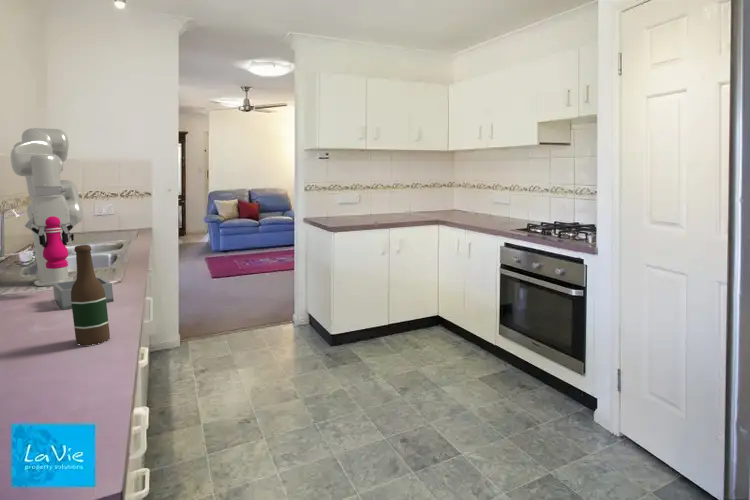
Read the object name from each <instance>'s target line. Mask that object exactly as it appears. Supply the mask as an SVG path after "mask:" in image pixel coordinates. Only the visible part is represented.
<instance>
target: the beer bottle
mask: <svg viewBox="0 0 750 500" xmlns="http://www.w3.org/2000/svg"><path fill="white" fill-rule="evenodd" d="M73 251H74V252H75V257H76V259H75V260H76V278H75V280H76V281H75V280H74V281H75V282H74V284H73V286H72V290H71V304H72V309H71V311H72V318H73V328H74V334H75V336H74V337H75V343H76V345H77V344H80V345H92V344H97V345H99V344H98V343H102V342H104V341H106V340H108V339H109V340H111V337H110V335H111V333H110V326H109V325H110V323H109V315H108V314H109V313H108V305H107V303H106V296H105V291H104V288H103V286H102V284H101V282H100V281H99V280H98V279H97V277H96V273H95V271H94V265H93V258H92V253H91V251H92V246H91V245H89V244H79V245H76V246H74V250H73ZM109 340H108V341H109ZM106 342H107V341H106ZM104 343H105V342H104ZM102 344H103V343H102ZM92 346H93V345H92Z"/></svg>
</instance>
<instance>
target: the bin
mask: <svg viewBox="0 0 750 500" xmlns="http://www.w3.org/2000/svg"><path fill="white" fill-rule="evenodd" d="M96 278H97V279H98V280H99V281H100V282H101V284H102V286H103V288H104V291H105V296H106V304H107V303H111V302H114V293H113V291H114V290H113V284H112V282H111V281H108V280H107V279H105V278H103V277H102V276H97V277H96ZM75 281H76V279H75V280H73V281H68V282H61V283H54V284H53V286H52V288H53V297H54V302H55V303H56V304H57V306H59V307H60V308H61V310H63V311H66V310H72V304H71V290H72V286H73V284H74V282H75Z"/></svg>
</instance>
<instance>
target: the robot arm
mask: <svg viewBox="0 0 750 500" xmlns="http://www.w3.org/2000/svg"><path fill="white" fill-rule="evenodd" d="M69 145H70V142H69V139H68V136H67V134H66V133H65V132H64V130H62V129H60V128H59V129H58V128H41V127H39V128H38V127H32V128H28V129H25V130H24V131H23V132H22V133H21V141H19V142H16V143H15V144H14V146H13V148H12V150H11V151H10V163H11V168H12V170H13V172H14V173H15V174H16V176H19V177H24V178H25V183H26V186H27V192H28V197H29V198H30V201H31V202H30V203H29V204H28V205H27V207H26V213H27V216H28V217H27V218H28V221H27V222H26V223H25V224H24V227H25V228H27V229H29V230H30V231H31V232H32V236H33V237H32V238H33V244H34V251H35V259H36V260H35V261H36V266H37V275H38V279H37V280H35V281H33V284H34V285H35V286H37V287H51V286H52V287H53V284H54V283H61V282H68V281H75V280H74V276H69V271H68V270H69V268H68V266H67V267H64V268H57V269H48V268H46V262H48V261H47V260H46V259H44V257H43V250H44V247H46V233H45V232H44V228H45V227H46V226H47V225H46V223H45V222H46V219H47V218H49V217H51V216H54V217H57V218H59V219H60V227H61V230H62V231H61V239H62V241H63V243H64V245H65V246H67V245H68V244H67V243H69V232H70V231H71V230H72V229H73V228H74V227H76V225H78V224H79V223H81V222H82V220H83V218H84V211H83V206H82V204H81V198H80V194H79V191H78V188H77V185H76V183H75V182H73V181H72V180H69V179H61V173H62V172H63V171H64V162H65V161H66V160H67V159H68V153H69ZM65 260H67V258H66V259H65Z"/></svg>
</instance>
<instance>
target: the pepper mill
mask: <svg viewBox="0 0 750 500" xmlns="http://www.w3.org/2000/svg"><path fill="white" fill-rule="evenodd" d="M45 223H46V225H47V226H46V227H45V228H44V232H45V233H46V247H44V250H43V257H44V259H46V260H47V261H48V262H46V268H48V269H57V268H64V267H67V268H68V266H69V263H68V259H67V258H68V257H69V250H68V248H67V245H64V243H63V241H62V239H61V234H62V231H63V230H62V228H61V226H60V219H59V218H57V217H54V216H51V217H49V218H47V219H46V222H45ZM65 259H66V260H65Z"/></svg>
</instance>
